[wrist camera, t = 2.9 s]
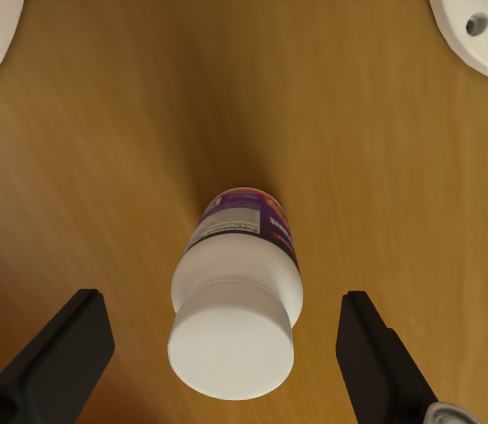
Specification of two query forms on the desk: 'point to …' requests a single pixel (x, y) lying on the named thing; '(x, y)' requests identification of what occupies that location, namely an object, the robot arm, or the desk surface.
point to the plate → (8, 23)
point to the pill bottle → (236, 298)
